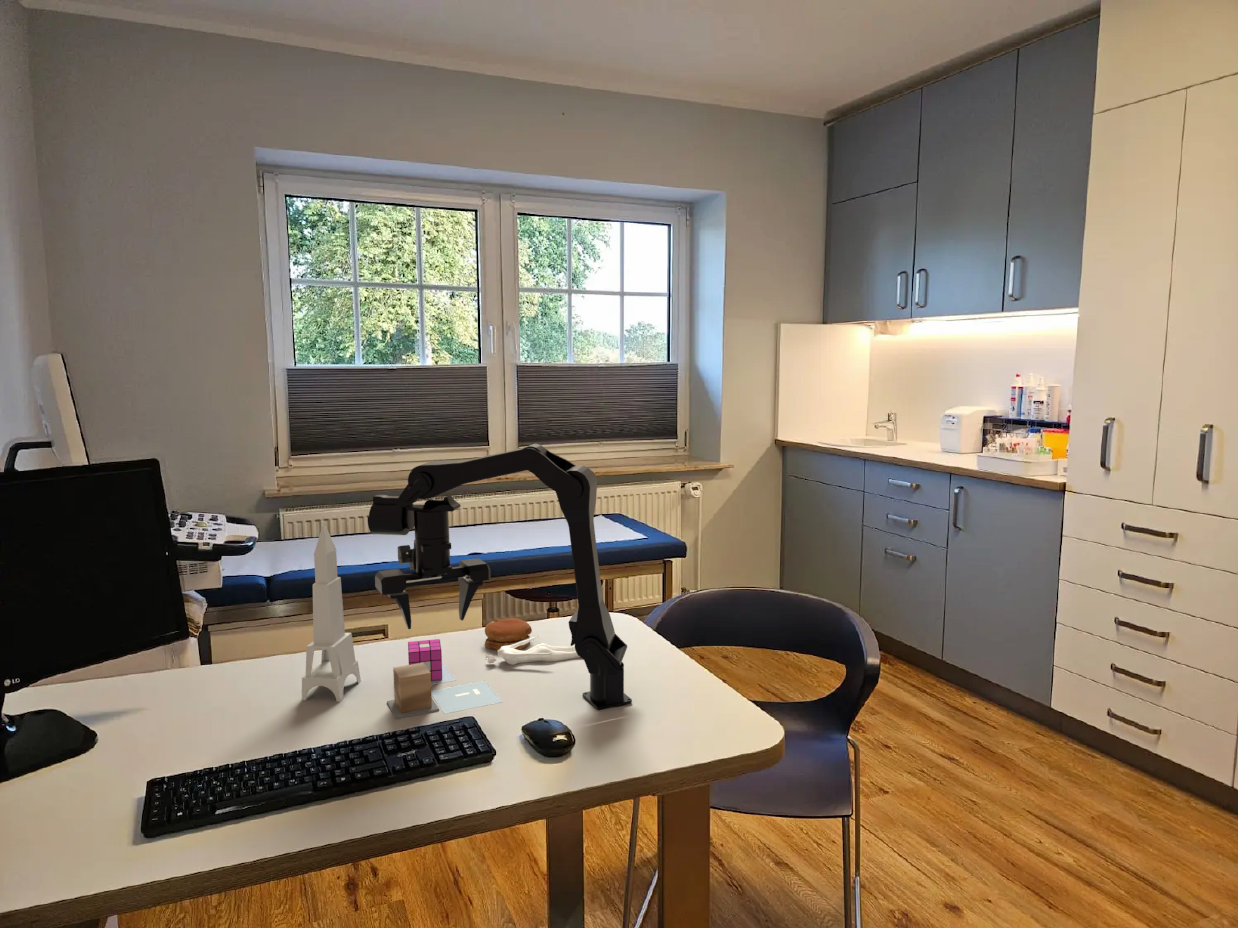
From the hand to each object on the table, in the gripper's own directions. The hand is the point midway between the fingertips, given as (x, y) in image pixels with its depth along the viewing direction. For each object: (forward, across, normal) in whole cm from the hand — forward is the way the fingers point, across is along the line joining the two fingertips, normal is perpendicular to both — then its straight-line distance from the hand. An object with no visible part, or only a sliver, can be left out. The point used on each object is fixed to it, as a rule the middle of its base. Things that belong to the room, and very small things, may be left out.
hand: (435, 624), depth 140 cm
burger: (+12, -19, -16) cm, 27 cm away
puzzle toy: (+12, 0, -7) cm, 14 cm away
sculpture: (+12, +16, -8) cm, 22 cm away
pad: (+12, +6, +5) cm, 14 cm away
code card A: (+12, -3, +5) cm, 13 cm away
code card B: (+12, 0, -7) cm, 14 cm away
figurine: (+12, -23, -4) cm, 27 cm away
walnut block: (+11, +6, +5) cm, 14 cm away
